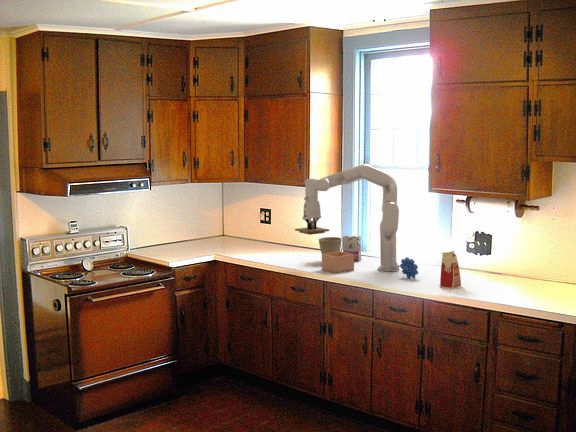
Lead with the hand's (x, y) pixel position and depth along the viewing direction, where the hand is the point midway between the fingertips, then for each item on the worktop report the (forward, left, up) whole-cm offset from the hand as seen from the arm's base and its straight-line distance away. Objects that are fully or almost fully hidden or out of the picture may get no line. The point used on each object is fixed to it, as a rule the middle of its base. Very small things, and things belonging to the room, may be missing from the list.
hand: (311, 228), depth 398 cm
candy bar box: (+9, -38, -26) cm, 47 cm away
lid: (0, 0, -2) cm, 2 cm away
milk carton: (-81, -34, -26) cm, 91 cm away
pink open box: (-9, -13, -26) cm, 30 cm away
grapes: (-52, -31, -26) cm, 66 cm away
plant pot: (+11, -22, -26) cm, 36 cm away
